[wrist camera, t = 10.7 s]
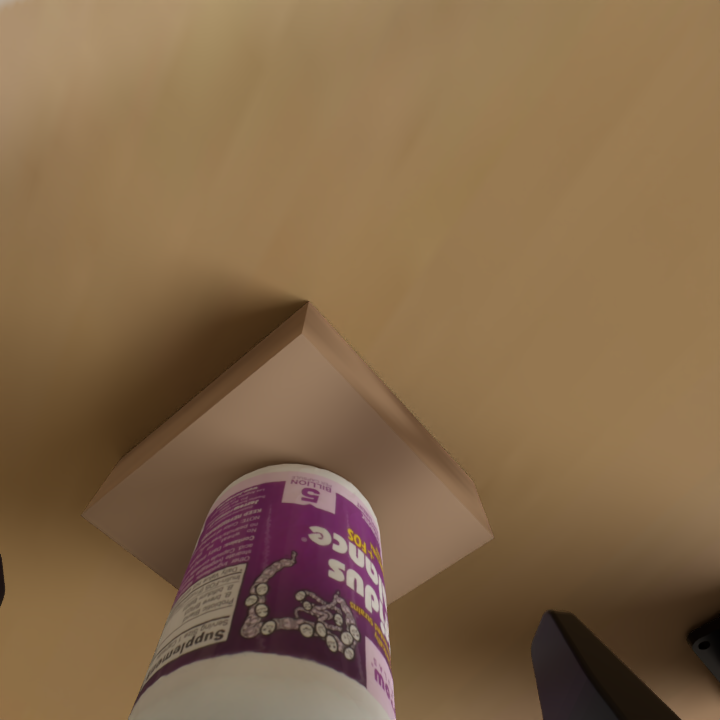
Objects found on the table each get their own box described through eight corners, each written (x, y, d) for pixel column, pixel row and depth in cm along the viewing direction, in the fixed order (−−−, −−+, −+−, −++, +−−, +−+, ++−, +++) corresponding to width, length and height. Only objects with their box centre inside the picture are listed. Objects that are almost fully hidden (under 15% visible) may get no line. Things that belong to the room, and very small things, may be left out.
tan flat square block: (473, 481, 20) (494, 538, 17) (292, 602, 22) (284, 670, 19) (309, 300, 17) (302, 333, 14) (119, 460, 19) (80, 515, 16)
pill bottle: (416, 525, 16) (499, 979, 8) (303, 618, 18) (259, 1094, 9) (283, 421, 15) (190, 836, 6) (171, 532, 16) (-39, 1002, 7)
